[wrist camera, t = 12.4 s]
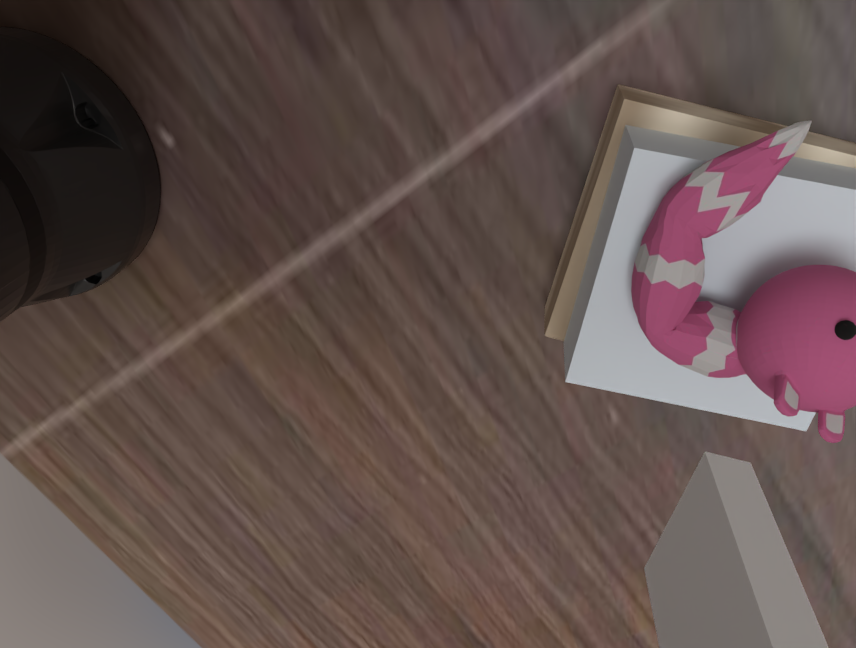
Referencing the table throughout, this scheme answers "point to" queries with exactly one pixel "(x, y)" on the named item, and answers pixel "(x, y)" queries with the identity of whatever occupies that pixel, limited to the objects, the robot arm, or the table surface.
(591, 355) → the upper block
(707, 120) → the lower slab
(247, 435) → the table surface
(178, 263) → the table surface
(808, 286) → the toy
